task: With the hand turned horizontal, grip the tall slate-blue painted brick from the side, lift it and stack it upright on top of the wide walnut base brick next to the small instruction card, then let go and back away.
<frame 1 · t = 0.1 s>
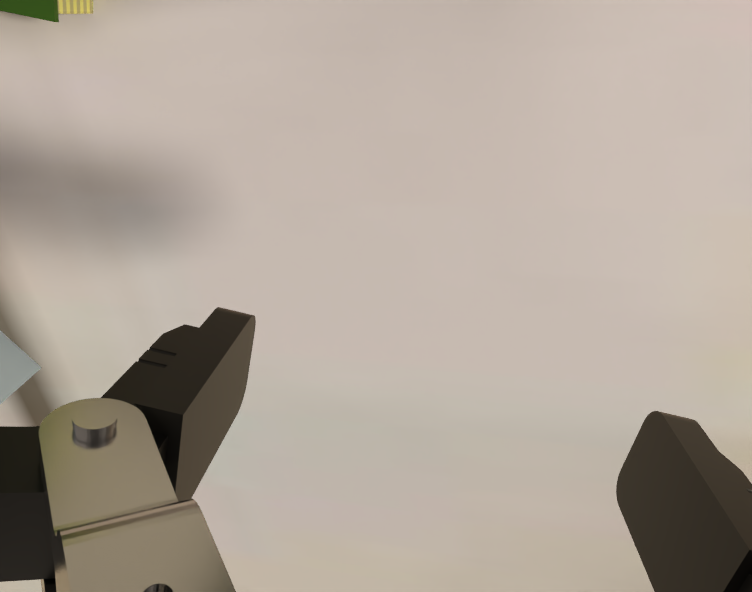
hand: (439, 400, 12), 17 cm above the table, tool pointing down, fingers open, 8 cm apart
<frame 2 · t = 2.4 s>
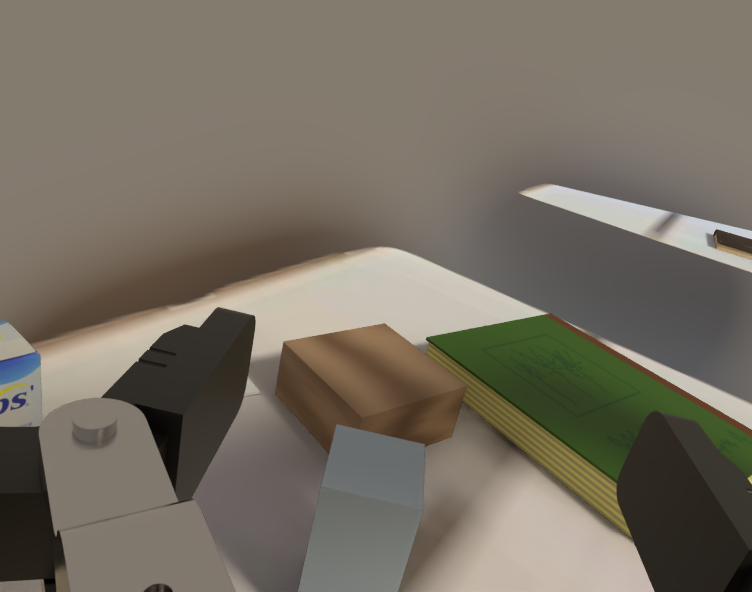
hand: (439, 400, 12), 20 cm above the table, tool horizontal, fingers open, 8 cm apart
base brick: (362, 417, 46), on the table
hardcover book: (577, 424, 52), on the table
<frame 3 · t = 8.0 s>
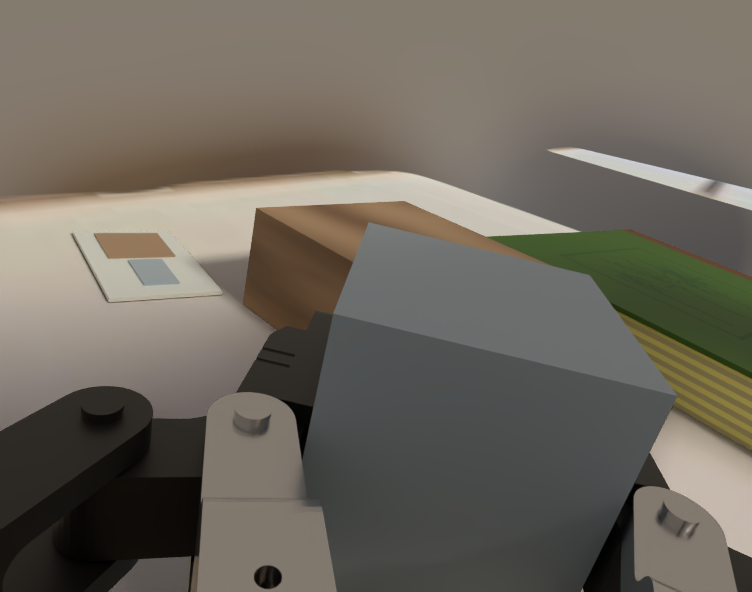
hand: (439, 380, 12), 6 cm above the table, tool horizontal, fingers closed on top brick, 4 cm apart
base brick: (388, 337, 28), on the table
hardcover book: (707, 366, 35), on the table
instruction card: (143, 263, 29), on the table
when the fingers open (12 cm above the table, at t = 13.1 s): top brick drops 1 cm, resting on base brick.
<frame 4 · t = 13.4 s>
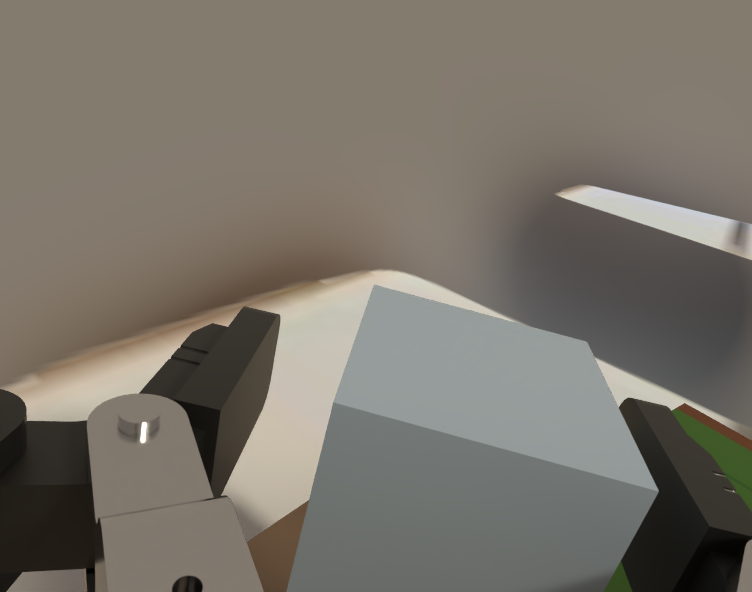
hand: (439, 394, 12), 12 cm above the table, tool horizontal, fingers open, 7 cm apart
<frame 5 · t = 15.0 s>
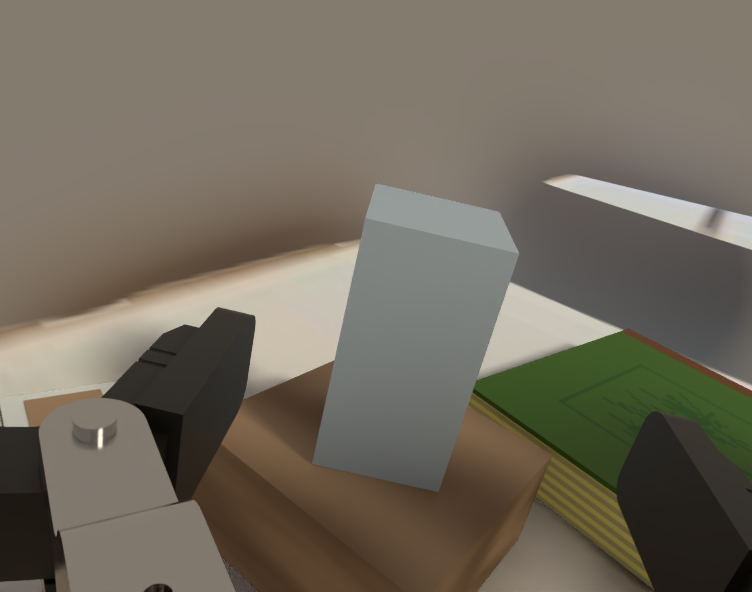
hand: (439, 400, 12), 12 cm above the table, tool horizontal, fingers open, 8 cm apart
base brick: (358, 536, 24), on the table
hardcover book: (724, 524, 31), on the table
instruction card: (78, 444, 25), on the table
top brick: (379, 438, 22), point 5 cm above the table
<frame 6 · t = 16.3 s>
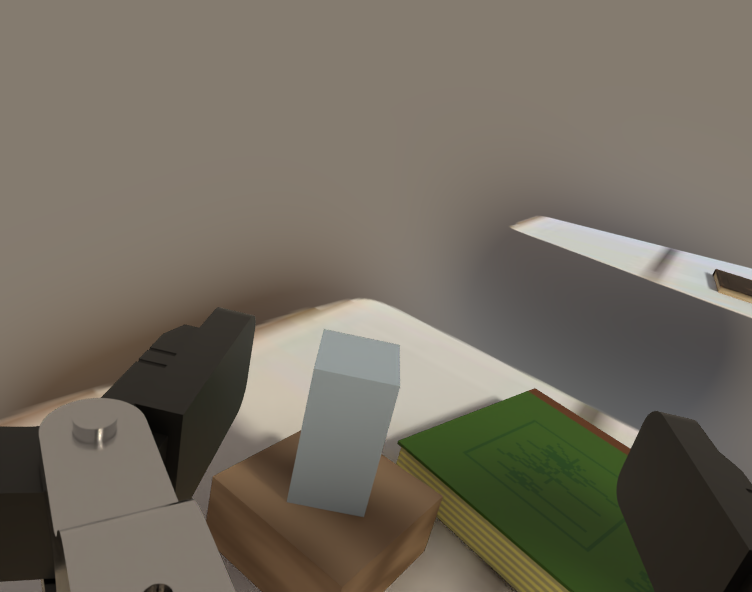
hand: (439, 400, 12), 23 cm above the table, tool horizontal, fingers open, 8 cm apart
base brick: (317, 548, 37), on the table, touching top brick
hardcover book: (578, 540, 44), on the table
top brick: (329, 482, 36), point 5 cm above the table, touching base brick
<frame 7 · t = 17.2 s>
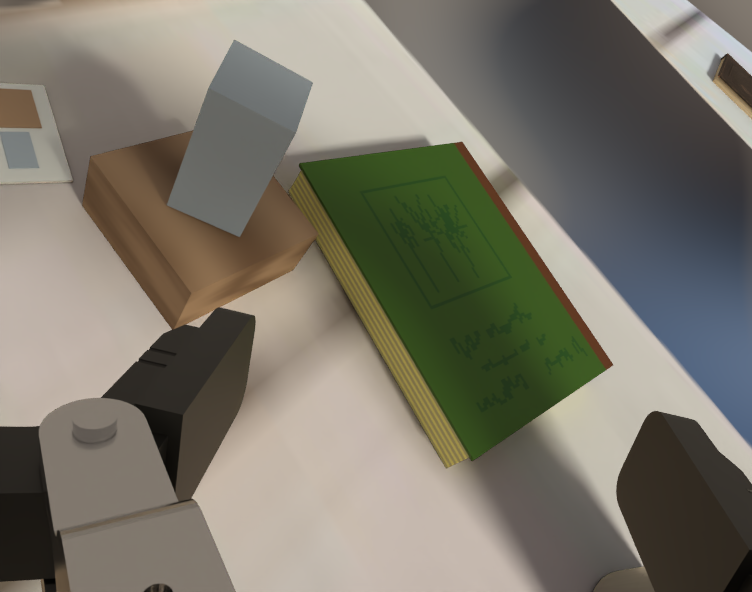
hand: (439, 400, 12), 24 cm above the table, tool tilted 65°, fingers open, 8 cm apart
base brick: (193, 242, 40), on the table, touching top brick
hardcover book: (437, 291, 49), on the table
instruction card: (13, 132, 37), on the table
top brick: (214, 196, 36), point 5 cm above the table, touching base brick
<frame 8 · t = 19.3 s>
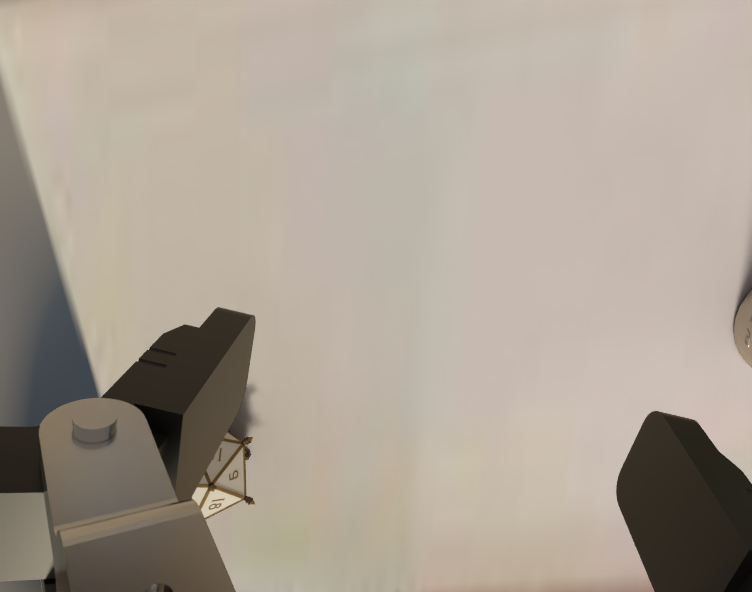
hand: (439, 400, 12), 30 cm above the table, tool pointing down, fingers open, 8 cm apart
game die: (219, 438, 50), on the table
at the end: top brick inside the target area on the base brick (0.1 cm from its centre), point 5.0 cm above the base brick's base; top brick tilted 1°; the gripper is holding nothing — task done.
